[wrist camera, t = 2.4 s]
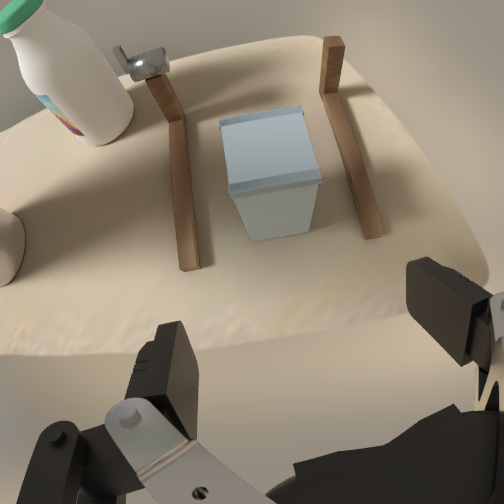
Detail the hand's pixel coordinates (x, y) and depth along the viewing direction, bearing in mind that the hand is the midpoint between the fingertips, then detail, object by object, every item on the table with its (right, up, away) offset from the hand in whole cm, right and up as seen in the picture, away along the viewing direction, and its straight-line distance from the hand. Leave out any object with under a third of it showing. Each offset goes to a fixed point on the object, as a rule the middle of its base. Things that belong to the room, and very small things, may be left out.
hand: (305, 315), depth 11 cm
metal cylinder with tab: (-11, +18, +14) cm, 25 cm away
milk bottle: (-19, +18, +23) cm, 34 cm away
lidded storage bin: (0, +6, +18) cm, 19 cm away
